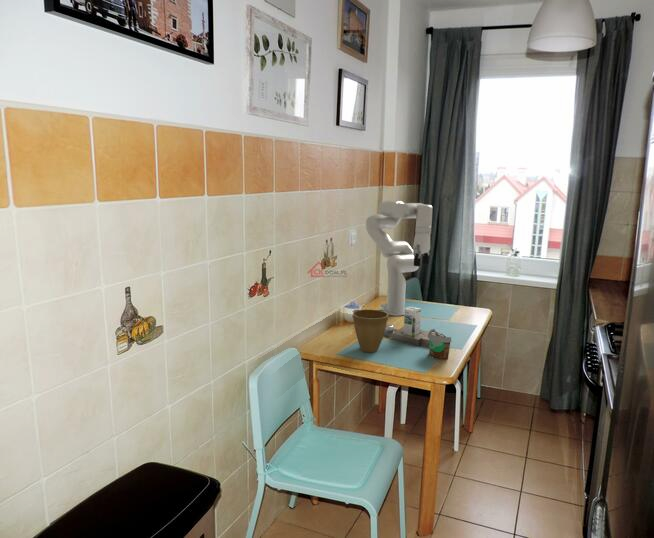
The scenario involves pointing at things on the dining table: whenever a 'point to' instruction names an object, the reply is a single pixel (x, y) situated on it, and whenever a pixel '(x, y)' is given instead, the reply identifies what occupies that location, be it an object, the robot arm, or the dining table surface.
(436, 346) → the food container
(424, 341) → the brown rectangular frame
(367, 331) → the plant pot
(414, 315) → the syrup box
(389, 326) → the plate with dome knob
